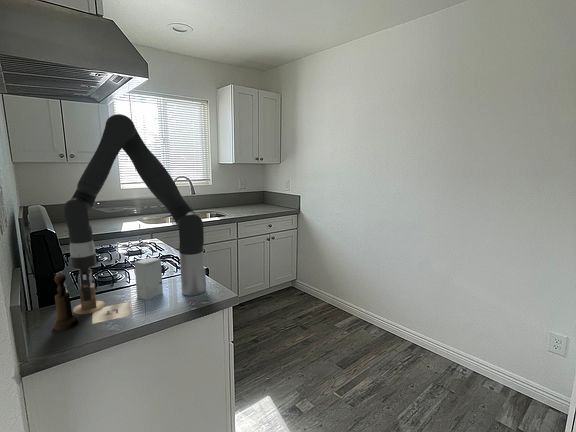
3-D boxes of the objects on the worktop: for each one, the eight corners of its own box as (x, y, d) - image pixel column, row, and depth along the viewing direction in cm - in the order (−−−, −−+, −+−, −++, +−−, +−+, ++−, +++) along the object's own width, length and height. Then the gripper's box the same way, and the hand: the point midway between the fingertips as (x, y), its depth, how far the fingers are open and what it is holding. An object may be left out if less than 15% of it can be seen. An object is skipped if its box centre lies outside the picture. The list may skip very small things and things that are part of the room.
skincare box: (146, 300, 125) (143, 264, 122) (136, 297, 128) (133, 261, 125) (164, 293, 132) (161, 258, 129) (154, 290, 135) (151, 256, 132)
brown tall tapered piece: (50, 327, 105) (43, 275, 102) (72, 319, 110) (66, 269, 107) (59, 333, 102) (52, 279, 98) (81, 325, 107) (75, 273, 104)
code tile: (129, 302, 123) (128, 301, 123) (131, 315, 113) (131, 315, 113) (92, 309, 117) (92, 309, 117) (92, 324, 107) (92, 323, 107)
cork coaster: (104, 300, 125) (104, 298, 125) (105, 310, 117) (105, 309, 117) (74, 305, 120) (73, 304, 120) (72, 317, 112) (72, 315, 112)
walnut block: (96, 303, 122) (94, 283, 120) (96, 307, 118) (94, 287, 116) (82, 305, 119) (79, 285, 118) (81, 310, 115) (79, 289, 114)
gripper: (95, 257, 111) (100, 301, 114) (95, 247, 123) (99, 287, 126) (69, 260, 107) (74, 306, 110) (71, 249, 119) (76, 291, 122)
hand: (88, 296), depth 118 cm, fingers open, 8 cm apart
